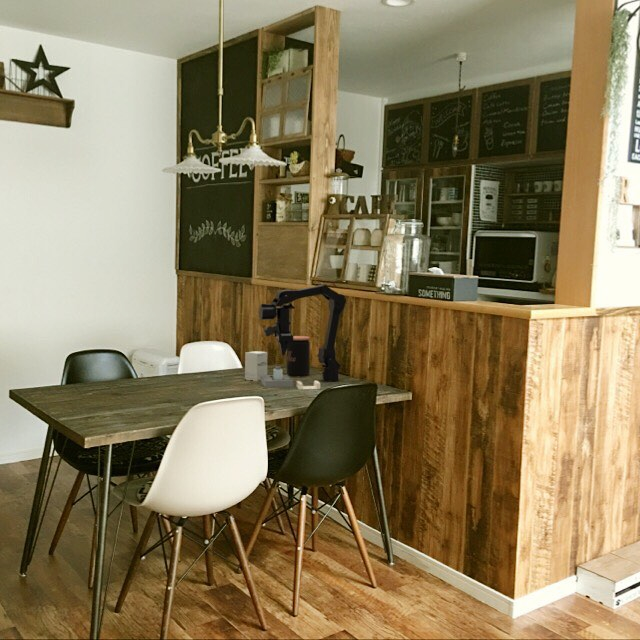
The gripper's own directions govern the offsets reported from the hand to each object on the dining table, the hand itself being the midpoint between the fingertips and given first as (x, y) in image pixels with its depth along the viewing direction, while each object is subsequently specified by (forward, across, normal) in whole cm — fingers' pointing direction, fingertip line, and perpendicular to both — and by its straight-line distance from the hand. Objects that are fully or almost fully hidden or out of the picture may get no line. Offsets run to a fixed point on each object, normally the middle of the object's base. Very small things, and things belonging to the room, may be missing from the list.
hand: (283, 355), depth 316 cm
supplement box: (+13, -16, -10) cm, 23 cm away
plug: (+12, +5, -3) cm, 14 cm away
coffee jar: (+13, -27, +11) cm, 32 cm away
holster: (+13, +12, +9) cm, 20 cm away
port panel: (+13, +2, -3) cm, 13 cm away
